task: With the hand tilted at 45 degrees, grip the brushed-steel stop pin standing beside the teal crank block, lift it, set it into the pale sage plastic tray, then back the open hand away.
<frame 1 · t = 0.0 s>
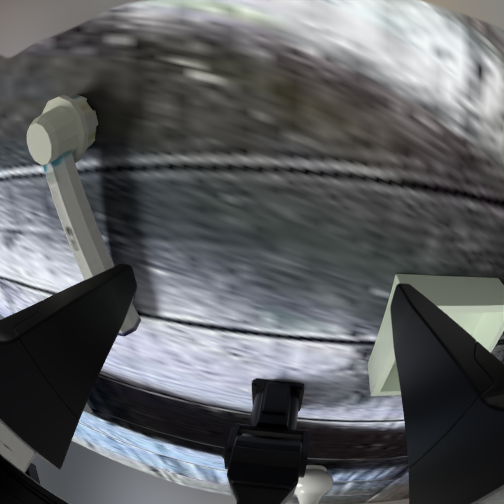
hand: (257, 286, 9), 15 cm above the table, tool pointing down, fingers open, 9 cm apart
grey mallet: (102, 216, 28), on the table
flower vase: (309, 468, 50), on the table
tray: (433, 325, 27), on the table
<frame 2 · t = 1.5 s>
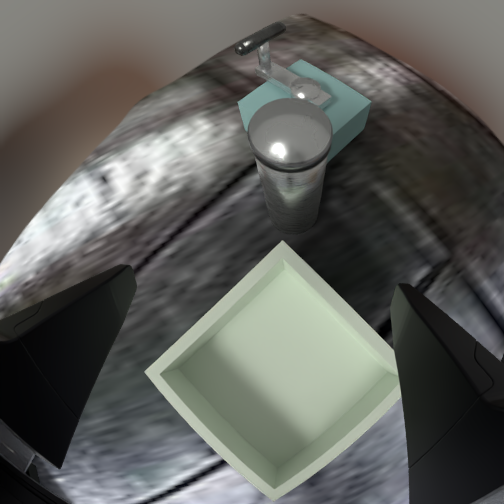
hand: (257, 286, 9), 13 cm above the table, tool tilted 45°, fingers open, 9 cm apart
crank block: (305, 127, 26), on the table
stop pin: (293, 210, 24), on the table
tray: (282, 373, 21), on the table
crank handle: (290, 67, 20), point 7 cm above the table, hinge at 0.0°
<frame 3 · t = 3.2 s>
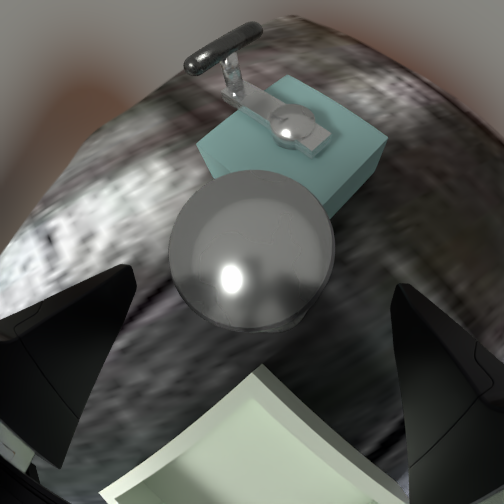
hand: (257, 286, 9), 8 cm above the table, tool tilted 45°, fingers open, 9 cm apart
crank block: (294, 172, 20), on the table
stop pin: (274, 299, 18), on the table
tray: (259, 491, 14), on the table
crank handle: (269, 90, 14), point 7 cm above the table, hinge at 0.0°
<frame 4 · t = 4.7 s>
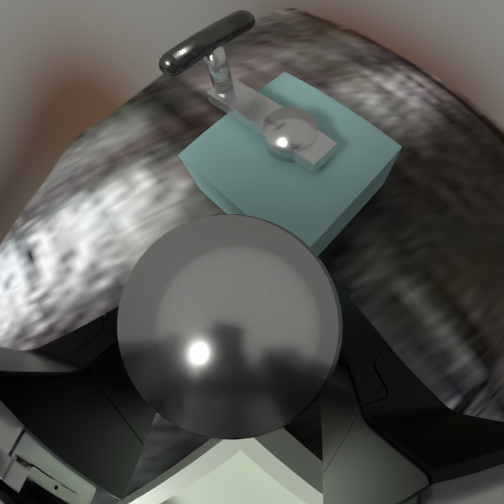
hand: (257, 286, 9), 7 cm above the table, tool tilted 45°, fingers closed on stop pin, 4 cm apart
crank block: (292, 184, 17), on the table
stop pin: (269, 332, 15), on the table, touching gripper
crank handle: (261, 91, 11), point 7 cm above the table, hinge at 0.0°
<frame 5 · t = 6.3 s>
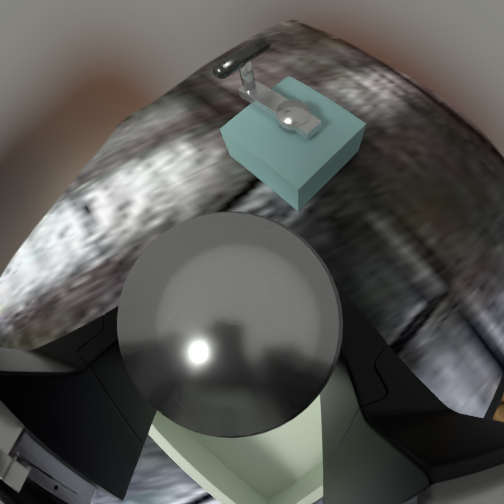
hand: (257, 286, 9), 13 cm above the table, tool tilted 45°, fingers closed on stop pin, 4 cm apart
ammunition clip: (488, 419, 17), on the table
crank block: (294, 151, 25), on the table
stop pin: (269, 331, 15), point 6 cm above the table, touching gripper
tray: (271, 413, 20), on the table
crank handle: (275, 89, 19), point 7 cm above the table, hinge at 0.0°
when the fingers open (9 cm above the table, at t = 8.2 s): stop pin drops 1 cm, resting on tray.
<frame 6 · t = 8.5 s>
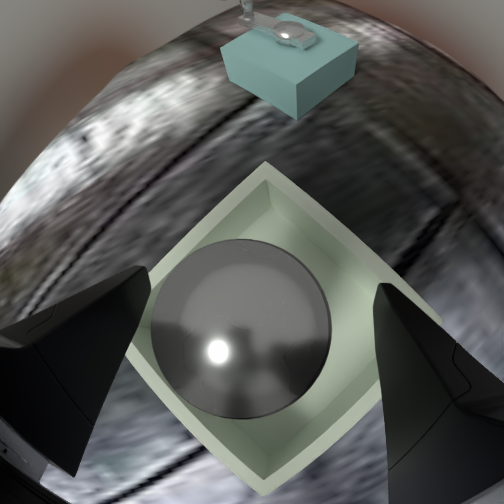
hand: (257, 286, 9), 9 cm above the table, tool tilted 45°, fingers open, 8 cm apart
crank block: (292, 75, 23), on the table
stop pin: (271, 333, 17), point 1 cm above the table, touching tray
tray: (272, 332, 18), on the table
crank handle: (272, 10, 17), point 7 cm above the table, hinge at 0.0°
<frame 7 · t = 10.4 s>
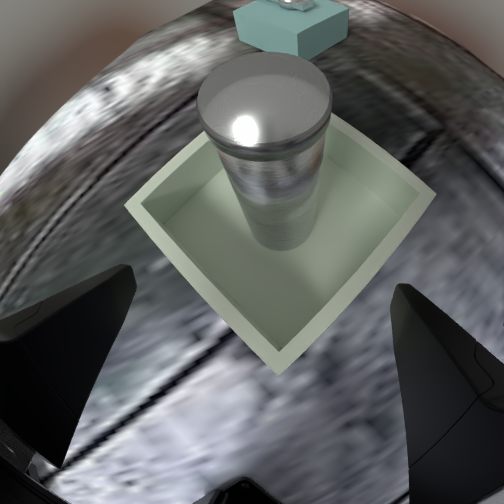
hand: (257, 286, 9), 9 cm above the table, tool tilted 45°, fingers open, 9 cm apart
crank block: (293, 36, 25), on the table
stop pin: (281, 219, 19), point 1 cm above the table, touching tray
tray: (281, 224, 19), on the table
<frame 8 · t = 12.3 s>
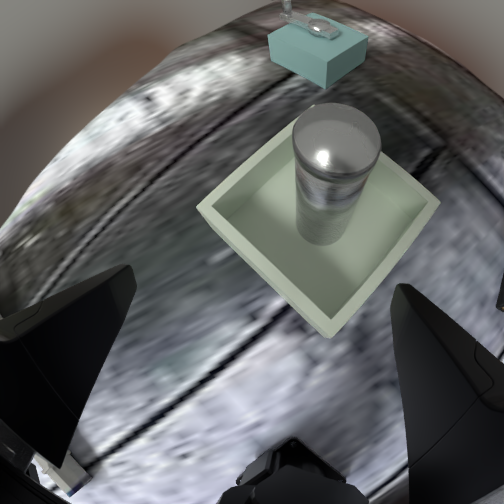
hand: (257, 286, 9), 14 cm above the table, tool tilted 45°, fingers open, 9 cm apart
grey mallet: (28, 391, 24), on the table
crank block: (318, 59, 29), on the table
stop pin: (321, 221, 23), point 1 cm above the table, touching tray
tray: (320, 224, 24), on the table
crank handle: (307, 10, 23), point 7 cm above the table, hinge at 0.0°
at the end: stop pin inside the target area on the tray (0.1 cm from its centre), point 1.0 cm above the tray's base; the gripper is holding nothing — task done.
